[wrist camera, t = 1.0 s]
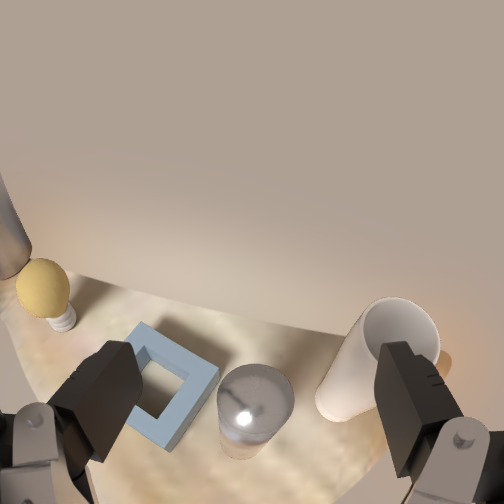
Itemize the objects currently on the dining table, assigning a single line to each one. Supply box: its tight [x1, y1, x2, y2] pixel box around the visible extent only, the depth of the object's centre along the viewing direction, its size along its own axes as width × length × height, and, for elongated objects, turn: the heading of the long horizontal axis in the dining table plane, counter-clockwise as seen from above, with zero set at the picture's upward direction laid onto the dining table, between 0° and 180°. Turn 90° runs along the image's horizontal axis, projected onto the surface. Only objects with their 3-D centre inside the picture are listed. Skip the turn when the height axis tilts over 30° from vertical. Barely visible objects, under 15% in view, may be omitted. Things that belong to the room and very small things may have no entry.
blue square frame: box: [124, 321, 220, 453], centre depth 28 cm, size 10×10×4 cm
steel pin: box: [217, 364, 295, 460], centre depth 21 cm, size 4×4×16 cm
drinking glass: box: [315, 297, 440, 422], centre depth 25 cm, size 7×7×15 cm
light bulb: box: [16, 258, 76, 332], centre depth 30 cm, size 6×6×10 cm
